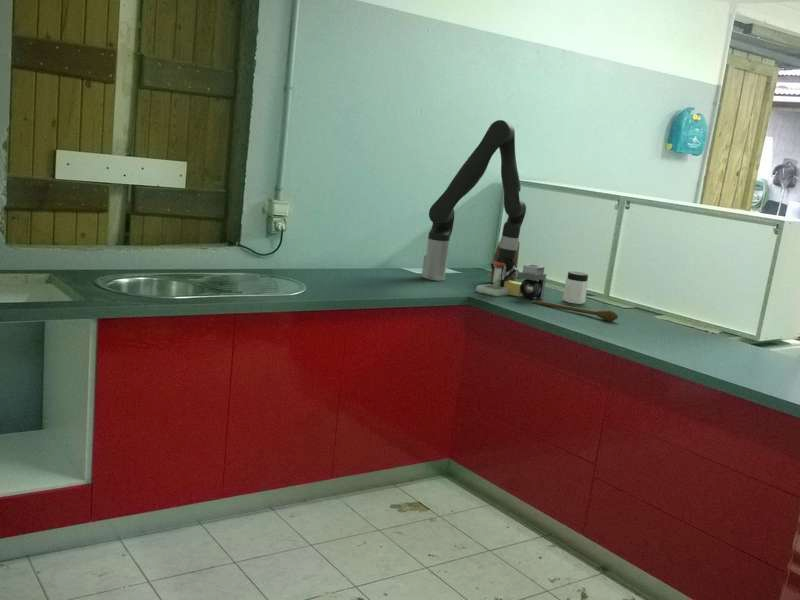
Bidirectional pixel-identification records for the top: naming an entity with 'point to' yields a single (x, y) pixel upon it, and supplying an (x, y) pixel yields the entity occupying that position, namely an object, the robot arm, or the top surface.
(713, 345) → the top surface
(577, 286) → the jar
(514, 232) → the robot arm
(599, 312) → the brown wooden spoon
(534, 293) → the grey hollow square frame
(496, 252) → the block
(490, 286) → the tray
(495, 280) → the pin
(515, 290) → the block
